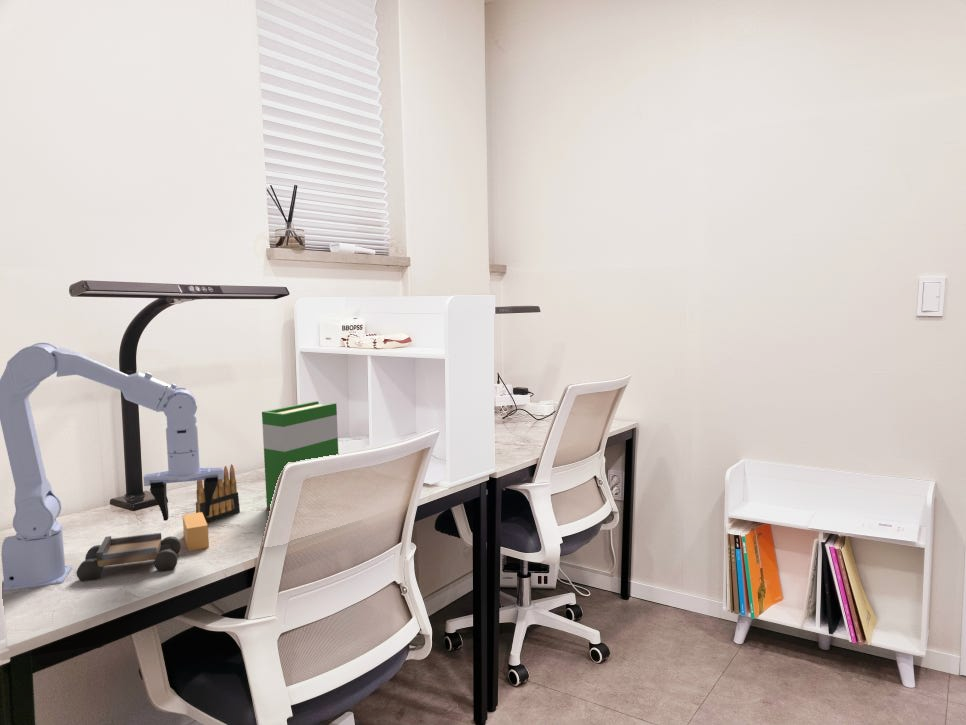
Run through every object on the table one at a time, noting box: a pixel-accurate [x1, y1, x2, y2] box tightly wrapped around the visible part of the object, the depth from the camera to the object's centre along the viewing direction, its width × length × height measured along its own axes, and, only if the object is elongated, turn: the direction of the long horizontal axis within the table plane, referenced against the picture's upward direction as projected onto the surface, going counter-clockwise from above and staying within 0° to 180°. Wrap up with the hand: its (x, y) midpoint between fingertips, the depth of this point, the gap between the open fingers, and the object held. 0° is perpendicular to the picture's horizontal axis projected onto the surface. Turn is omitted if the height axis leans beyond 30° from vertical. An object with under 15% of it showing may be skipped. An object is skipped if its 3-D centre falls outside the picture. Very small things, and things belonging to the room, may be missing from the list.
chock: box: [182, 512, 210, 552], centre depth 150 cm, size 4×10×5 cm, turn 28°
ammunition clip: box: [195, 464, 241, 524], centre depth 165 cm, size 11×2×12 cm, turn 147°
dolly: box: [76, 532, 182, 582], centre depth 136 cm, size 17×9×6 cm, turn 109°
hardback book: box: [261, 400, 339, 509], centre depth 176 cm, size 18×7×24 cm, turn 147°
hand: (187, 516), depth 140 cm, fingers open, 7 cm apart
